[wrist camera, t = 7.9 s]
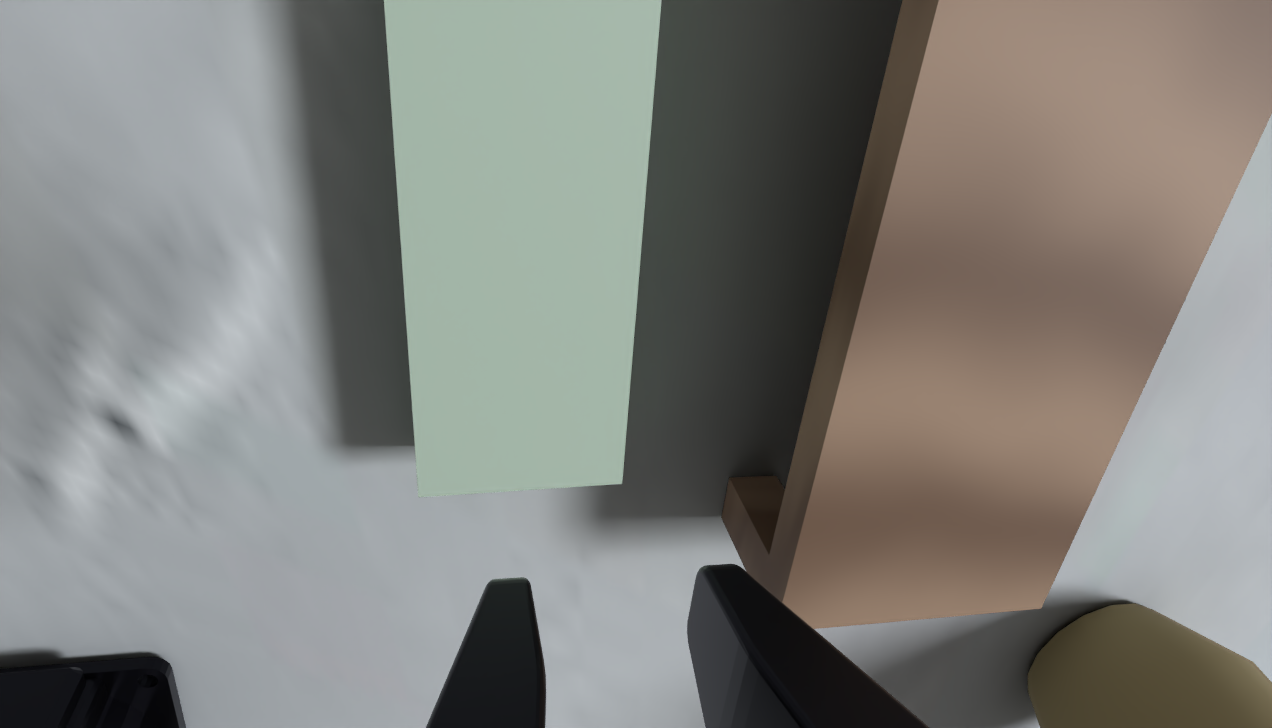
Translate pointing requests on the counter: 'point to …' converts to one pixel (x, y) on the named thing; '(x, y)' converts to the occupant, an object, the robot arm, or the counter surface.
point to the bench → (1002, 296)
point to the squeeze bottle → (1144, 676)
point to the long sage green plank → (520, 232)
